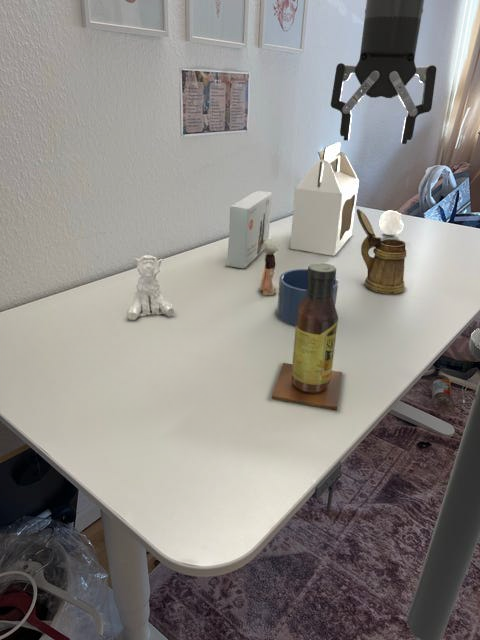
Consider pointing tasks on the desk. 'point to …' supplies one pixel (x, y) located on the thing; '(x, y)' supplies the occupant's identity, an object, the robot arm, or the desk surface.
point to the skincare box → (248, 228)
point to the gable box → (325, 204)
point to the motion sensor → (391, 223)
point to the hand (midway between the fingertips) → (374, 141)
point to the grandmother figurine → (269, 267)
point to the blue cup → (295, 294)
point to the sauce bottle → (315, 331)
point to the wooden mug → (382, 260)
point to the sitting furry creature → (148, 290)
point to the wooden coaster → (291, 394)
